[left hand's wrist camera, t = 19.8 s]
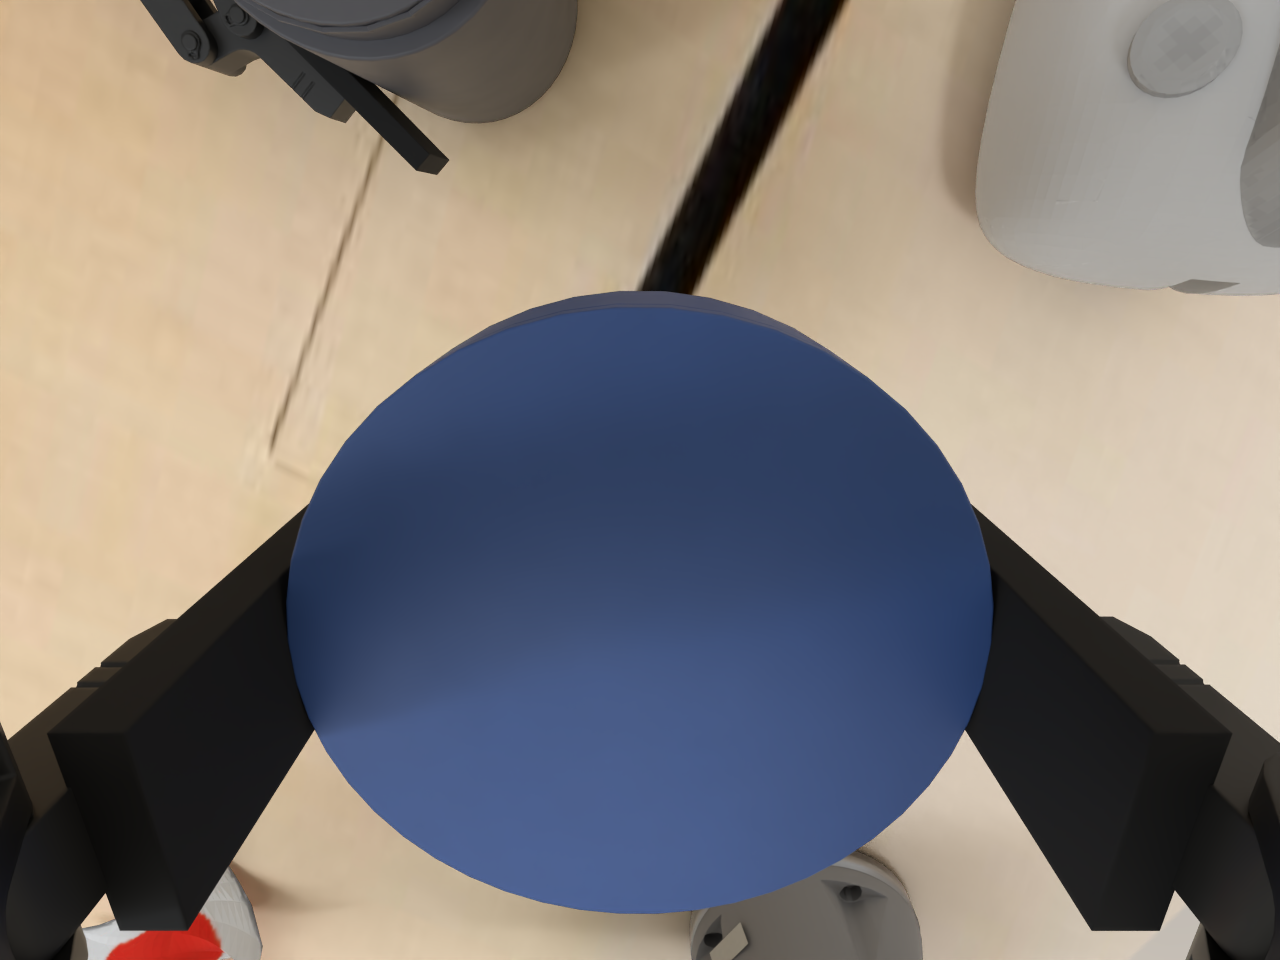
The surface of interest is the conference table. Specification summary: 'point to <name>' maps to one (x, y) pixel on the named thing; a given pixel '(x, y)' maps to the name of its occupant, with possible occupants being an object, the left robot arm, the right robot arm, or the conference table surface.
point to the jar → (436, 47)
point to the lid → (639, 606)
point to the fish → (188, 932)
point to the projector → (1137, 144)
